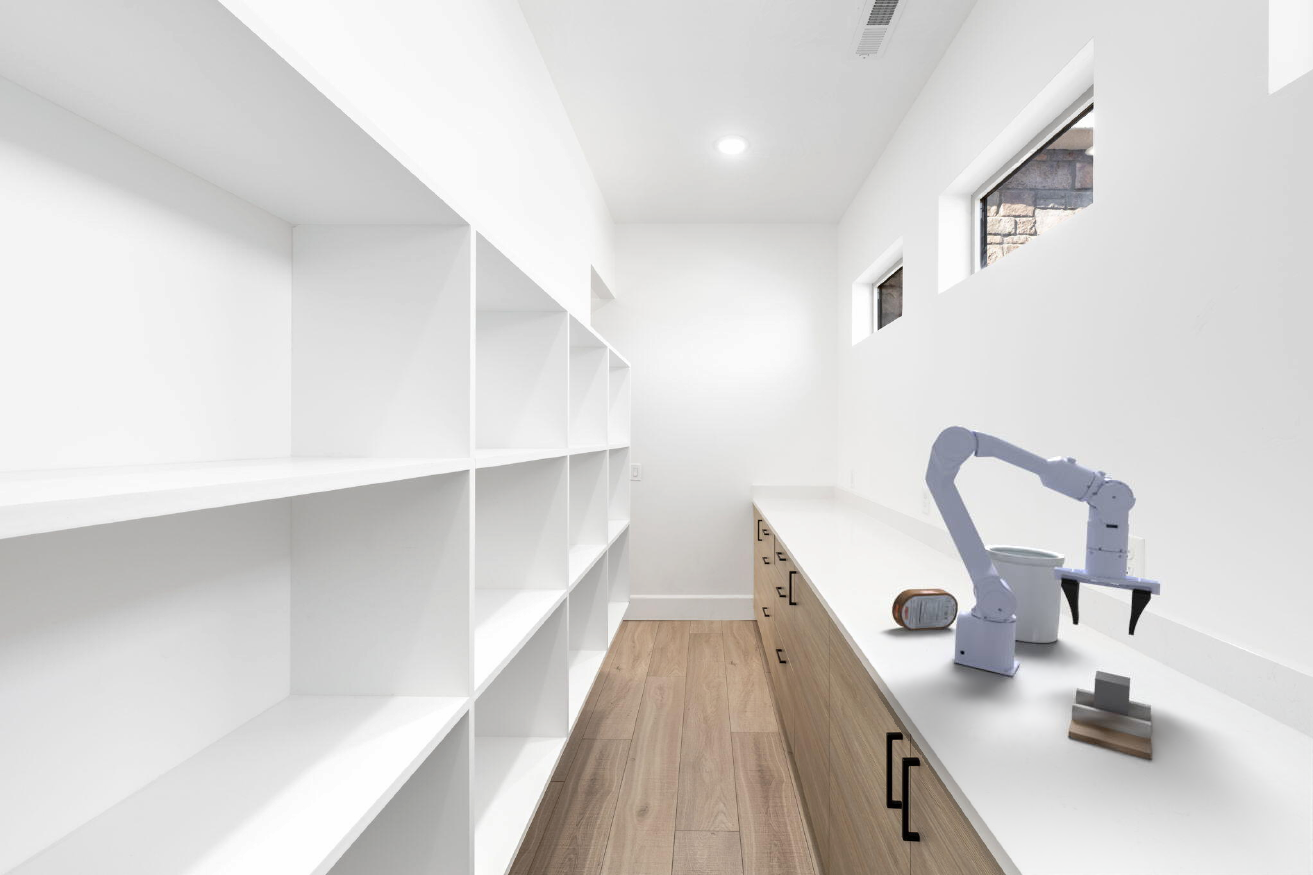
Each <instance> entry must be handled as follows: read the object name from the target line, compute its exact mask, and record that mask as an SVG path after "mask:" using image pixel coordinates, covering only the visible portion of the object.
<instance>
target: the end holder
mask: <svg viewBox="0 0 1313 875" xmlns="http://www.w3.org/2000/svg"><path fill="white" fill-rule="evenodd" d="M1075 690H1076V691H1075V702H1072V704H1071V705H1072V706H1071V720H1070V724H1069V728H1068V733H1067V734H1068V736H1067V737H1068V738H1071V739H1074V740H1078V741H1081V742H1082V741H1083V742H1086V743H1089V744H1093V745H1096V746H1099V747H1103V748H1107V749H1110V750H1115V751H1118V752H1121V753H1125V754H1129V755H1132V756H1137V757H1139V758H1143V759H1146V760H1150V761H1152V726H1153V725H1152V721H1151V717H1152V716H1151V712H1152V711H1151V710H1152V705H1151V704H1146V703H1142V702H1137V701H1132V700H1129V715H1128V716H1124V715H1120V714H1116V713H1112V712H1108V711H1104V710H1100V709H1096V708H1094V691H1091V690H1086V689H1083V688H1078V687H1077V688H1076V689H1075Z"/></svg>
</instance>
